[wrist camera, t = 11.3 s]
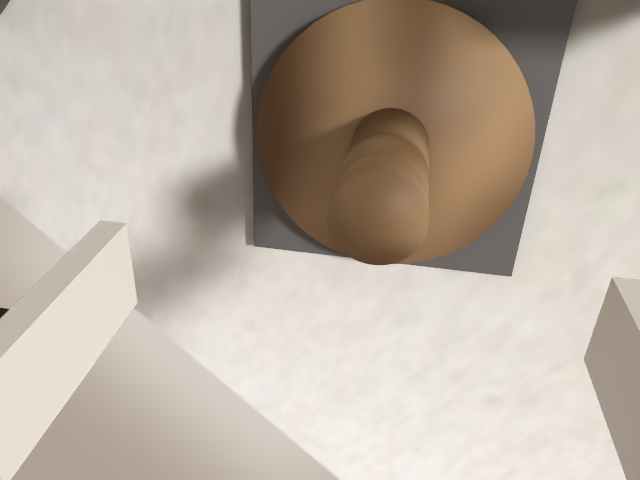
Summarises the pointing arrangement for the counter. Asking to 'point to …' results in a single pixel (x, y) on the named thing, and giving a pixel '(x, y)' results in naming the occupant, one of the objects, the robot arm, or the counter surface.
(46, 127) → the counter surface
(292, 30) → the mat
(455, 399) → the counter surface
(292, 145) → the lid
